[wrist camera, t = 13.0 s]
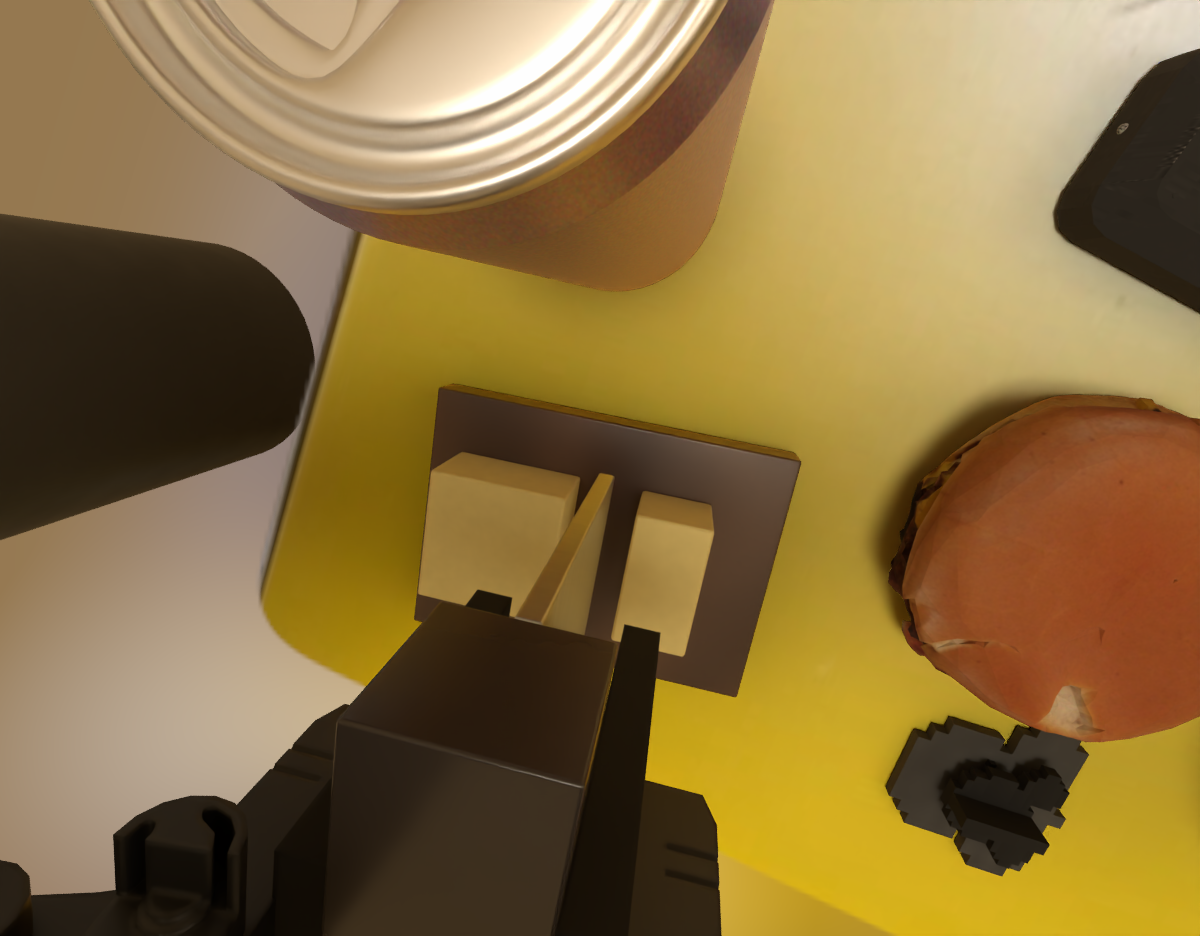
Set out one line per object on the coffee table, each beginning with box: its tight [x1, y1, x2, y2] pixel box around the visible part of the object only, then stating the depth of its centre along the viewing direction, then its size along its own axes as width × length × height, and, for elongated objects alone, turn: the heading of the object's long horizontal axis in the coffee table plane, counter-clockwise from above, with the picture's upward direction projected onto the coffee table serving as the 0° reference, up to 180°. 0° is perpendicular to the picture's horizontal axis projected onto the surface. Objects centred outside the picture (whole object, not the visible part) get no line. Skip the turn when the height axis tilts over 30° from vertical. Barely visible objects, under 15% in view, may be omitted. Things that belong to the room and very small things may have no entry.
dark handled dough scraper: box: [321, 473, 618, 936], centre depth 11 cm, size 7×2×10 cm, turn 170°
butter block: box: [418, 452, 580, 617], centre depth 19 cm, size 4×4×2 cm
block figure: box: [886, 716, 1089, 876], centre depth 20 cm, size 6×2×6 cm
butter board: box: [414, 384, 801, 697], centre depth 21 cm, size 12×8×1 cm
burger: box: [888, 395, 1200, 742], centre depth 17 cm, size 10×9×5 cm
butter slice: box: [611, 491, 714, 656], centre depth 19 cm, size 2×4×2 cm, turn 170°
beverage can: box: [89, 0, 774, 291], centre depth 11 cm, size 6×6×15 cm
